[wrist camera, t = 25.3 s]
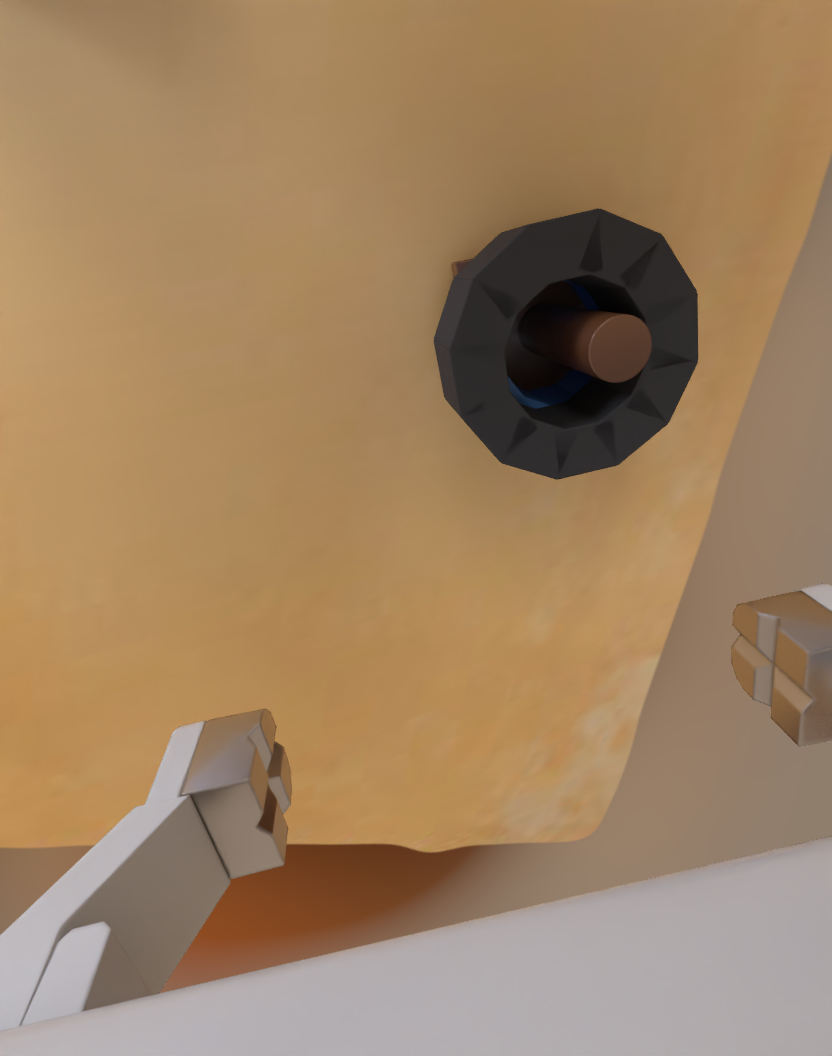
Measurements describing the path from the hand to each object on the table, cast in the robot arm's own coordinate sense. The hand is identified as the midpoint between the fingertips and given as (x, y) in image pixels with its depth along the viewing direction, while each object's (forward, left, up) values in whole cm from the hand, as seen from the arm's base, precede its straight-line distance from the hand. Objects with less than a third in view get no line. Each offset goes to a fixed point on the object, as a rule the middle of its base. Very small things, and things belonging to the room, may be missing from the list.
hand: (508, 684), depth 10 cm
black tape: (-2, +8, -23) cm, 24 cm away
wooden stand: (-2, +9, -29) cm, 31 cm away
